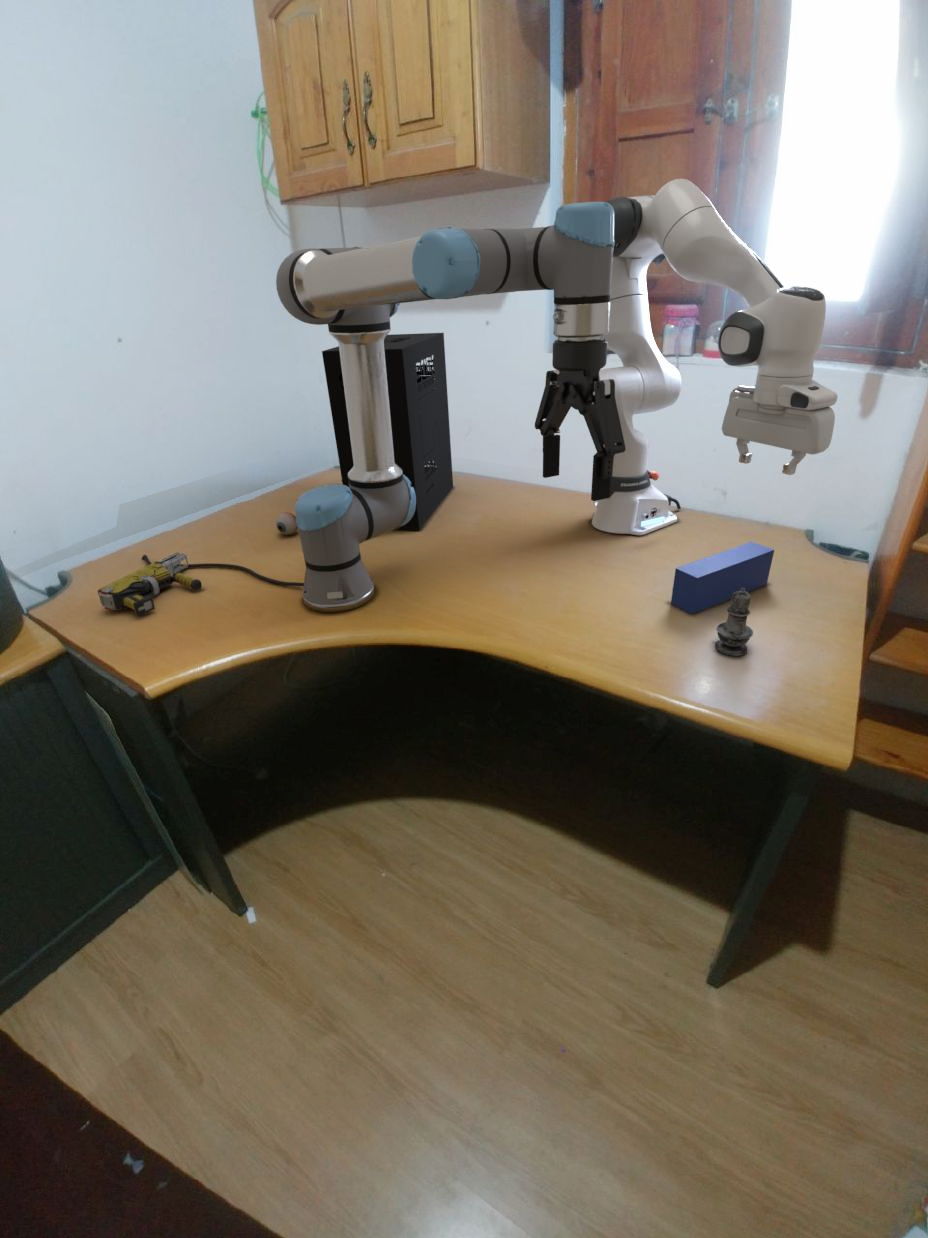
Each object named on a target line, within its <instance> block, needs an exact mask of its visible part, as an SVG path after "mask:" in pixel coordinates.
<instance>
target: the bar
mask: <svg viewBox="0 0 928 1238" xmlns="http://www.w3.org/2000/svg"><path fill="white" fill-rule="evenodd" d="M774 554H775V549H774V548H771V547H767V546H765V545H763V544H759V543H757V542H754V541H750V542H747V543H744V544H741V545H738V546H735V547H732V548H729V549H726V550H724V551H721V552H718V553H715V554H712V555H709V556H707V557H706V556H705V557H704V558H700V559H698V560H695V561H692V562H689V563H686V564H684V565H681V566H678V567H675V570H674V576H673V577H674V579H673V584H672V585H673V586H672V592H671V600H670V604H671V605H672V606H675V607H676V608H679V609H680V610H682V611H685V612H687V613H688V614H690V615H694V614H696V613H699V612H701V611H704V610H707V609H708V608H711V607H713V606H716V605H719V604H721V603H724V602H726V601H729V600H731V599H732V595H733V593H734V592H736V591H740V590H741V588H742V587H744V588H745V590H744V591H746V592H748V593H749V592H751V591H753V590H757V589H759V588H761V587H764V586H766V585H768V581H769V577H770V571H771V567H772V562H773V558H774Z"/></svg>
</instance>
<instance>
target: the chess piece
mask: <svg viewBox="0 0 928 1238" xmlns="http://www.w3.org/2000/svg"><path fill="white" fill-rule="evenodd" d="M744 590H745V588H744V587H742V588H741V590H740V591H736V592H734V593H733V595H732V598H731V599H730V605H729V607H727V609H726V612H727V618H726V621H723V622H720V623H718V624H717V626H715V627H716V631H717V637H718V639H719V640H717V641H716V642H715V643H714V647H715V649H716V650H717V651H718V652H719V653H722V654H724V655H728V656H734V657H737V656H743V655H745V654H747V652H748V647H747V645H746V644H747V643H748V642H749V641H750V639H751V638H752V637H753V636H754V631H753V629H752V628H751V627H750V626H749V625H747V619H748V616H749V615H750V614H751V611H750V609H749V608H750V603H751V593H749V592H746V591H744Z"/></svg>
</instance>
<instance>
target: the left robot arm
mask: <svg viewBox="0 0 928 1238" xmlns="http://www.w3.org/2000/svg"><path fill="white" fill-rule="evenodd" d="M554 216H555V217H554V223H553V224H551V225H548V226H540V227H528V228H527V227H525V228H458V227H456V226H449V227H441V228H436V229H429V230H427V231H426V232H424V233H423V234H422V235H421V236H420V235H419V236H415V237H410V238H405V239H401V240H396V241H390V242H386V243H380V244H377V245H371V246H368V247H366V246H365V247H363V246H352V247H329V248H328V247H325V248H304V249H299V250H296V251H294V252H292V253H290V254H289V255H287V256H286V257H285V258H284V259H283V260H282V262H281V263H280V265H279V267H278V270H277V273H276V278H275V279H276V280H275V285H276V292H277V295H278V299H279V301H280V303H281V305H282V306H283V307H284V309H285V311H287V312H288V313H289V315H291V316H292V317H293V318H295V319H296V320H298V321H300V322H302V323H304V324H305V323H306V324H309V325H316V326H317V325H318V326H323V325H327V328H328V334H329V335H330V336H331V337H333V339H334V340H336V342H337V343H338V346H339V351H340V359H341V367H342V375H343V383H344V391H345V399H346V407H347V415H348V423H349V431H350V439H351V447H352V455H353V463H354V466H353V468H352V469H351V470H350V471H349V473H348V481H349V487H348V486H346V485H343V484H342V483H329V484H327V485H319V486H316V487H313V488H311V489H309V490H307V491H305V492H304V493H302V494H301V495H299V497H298V498H297V500H296V502H295V504H294V515H295V516H296V525H297V527H298V529H297V531H298V535H299V540H300V546H301V549H302V555H303V560H304V564H305V574H304V581H303V582H295V581H293V582H292V581H282V580H277V579H273V578H270V577H267V576H264V575H261V574H259V573H257V572H255V571H254V570H252V569H250V568H248V567H245V566H242V565H238V564H237V565H236V564H230V563H217V562H216V563H213V562H212V563H210V562H209V563H207V562H206V563H188V568H209V567H212V568H213V567H214V568H229V569H230V568H231V569H237V570H241V571H243V572H247V573H249V574H251V575H252V576H254V577H256V578H258V579H261V580H263V581H266V582H269V583H272V584H276V585H281V586H287V587H289V586H290V587H303V588H302V598H303V602H304V603H303V604H304V605H305V606H306V607H307V608H308V609H310V610H312V611H315V612H319V613H328V614H329V613H330V614H331V613H342V612H347V611H350V610H354V609H356V608H359V607H361V606H364V605H365V604H367V603H368V602H369V601H371V600H372V598H373V597H374V595H375V584H374V581H373V579H372V578H371V576H370V575H369V573H368V571H367V568H366V567H365V564H364V562H363V559H362V556H361V547H360V544H362V543H364V542H368V541H369V540H371V539H374V538H377V537H379V536H382V535H384V534H387V533H390V532H394V531H397V530H396V529H398V528H399V527H401V526H403V525H405V524H406V523H408V522H409V521H410V520H411V518H412V517H413V515H414V512H415V508H416V495H415V491H414V488H413V487H411V482H410V480H409V479H408V478H407V477H406V476H405V475H403V472H402V469H401V468H400V467H399V466H398V465H396V464H395V462H394V451H393V440H392V429H391V417H390V406H389V395H388V384H387V373H386V362H385V350H384V339H385V337H386V336H387V335H389V333H390V332H391V330H392V329H391V328H392V327H391V318H392V317H393V316H394V315H395V314H396V313H397V312H398V310H399V306H400V305H401V304H404V303H405V304H406V303H415V302H424V301H433V300H453V299H459V298H465V297H466V298H467V297H472V296H473V297H474V296H481V295H494V294H504V293H505V294H507V293H515V292H530V291H553V315H552V319H553V331H552V332H553V334H552V335H553V336H555V337H557V339H555V340H554V342H553V343H552V360H551V361H552V368H553V370H547V371H546V374H545V384H544V385H545V386H544V389H543V393H542V396H541V400H540V403H539V407H538V411H537V414H536V418H535V421H534V429H535V430H539V431H540V432H539V433H540V435H541V436H542V478H543V479H547V478H552V477H557V476H560V462H561V461H560V458H561V457H560V455H561V435H560V433H561V431H560V427H561V426H562V424H563V422H564V420H565V418H566V417H567V415H568V413H569V412H570V410H571V408H572V409H574V410H576V411H578V413H579V415H580V416H583V418H584V421H585V424H586V426H587V429H588V432H589V435H590V437H591V440H592V442H593V446H594V447H595V451H596V453H594V454H593V456H592V457H593V459H592V473H591V475H592V476H591V490H590V491H591V492H590V501H592V502H598V500H602V499H607V498H609V494H610V480H611V477H612V474H613V460H614V455H615V454H618V453H623V452H625V449H626V448H625V443H624V438H623V433H622V428H621V423H620V419H619V414H618V409H617V404H616V400H615V381H614V380H613V379H608V380H601V381H600V377H599V371H600V370H602V369H604V368H605V366H607V361H608V359H607V358H608V348H607V344H608V341H606V339H605V338H603V337H604V335H606V334H607V333H608V332H609V316H610V286H611V273H612V260H613V249H614V246H615V241H614V209H613V207H612V206H611V205H610V204H609V203H606V202H605V201H586V202H583V201H582V202H574V203H568V204H563V205H560V206H559V207H557V209H556V211H555V215H554ZM592 403H594V404H592ZM615 443H616V445H615ZM603 445H605V447H604V446H603ZM141 560H144V561H145V562H146V564H147V566H148V565H150V564H152V563H153V562H151V561H150V558H148V556H147V554H143V555H142V556H141ZM186 564H187V563H184V565H186ZM177 566H180V564H179V565H177ZM181 566H183V565H181Z"/></svg>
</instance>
